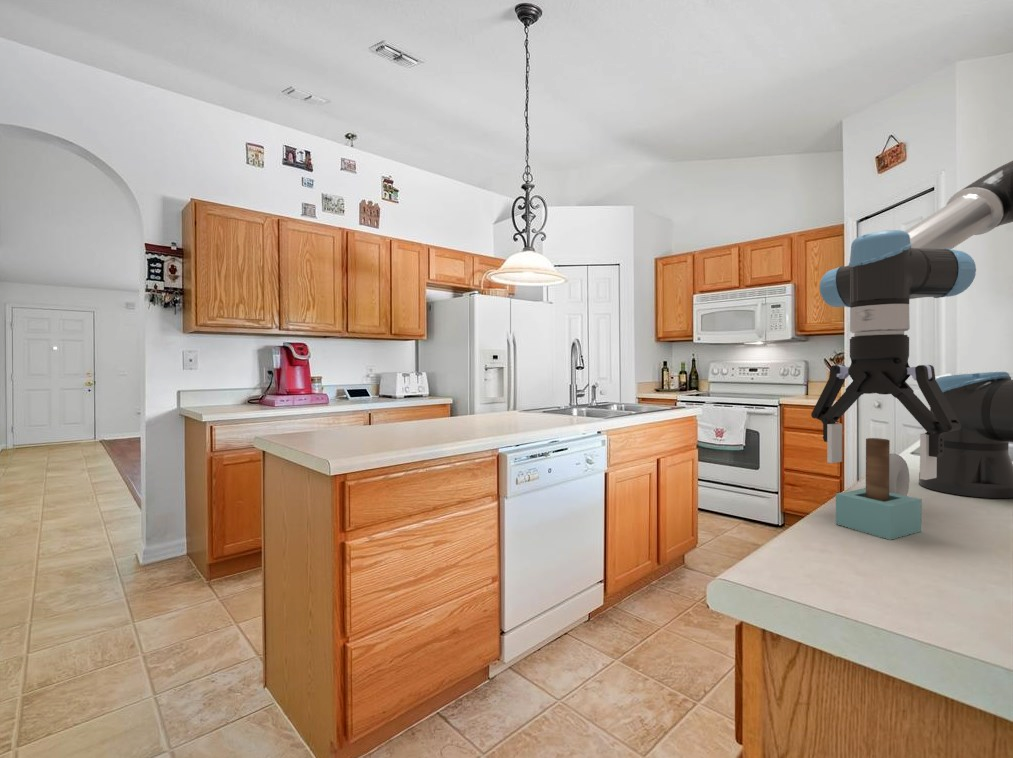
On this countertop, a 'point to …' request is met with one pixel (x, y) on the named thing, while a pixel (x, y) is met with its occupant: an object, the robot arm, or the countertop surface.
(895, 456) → the grey rounded flat slab
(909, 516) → the teal socket block
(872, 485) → the thick dowel
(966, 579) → the countertop surface
